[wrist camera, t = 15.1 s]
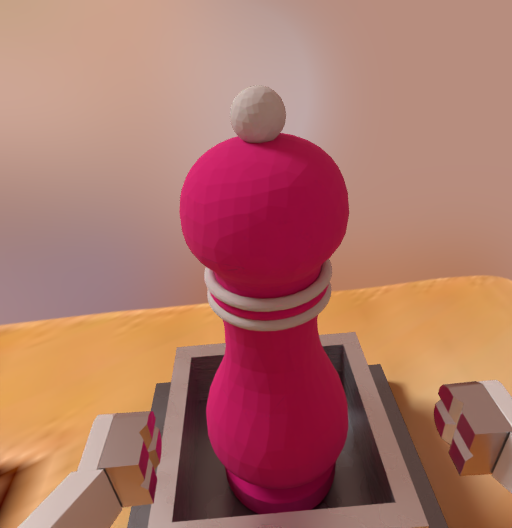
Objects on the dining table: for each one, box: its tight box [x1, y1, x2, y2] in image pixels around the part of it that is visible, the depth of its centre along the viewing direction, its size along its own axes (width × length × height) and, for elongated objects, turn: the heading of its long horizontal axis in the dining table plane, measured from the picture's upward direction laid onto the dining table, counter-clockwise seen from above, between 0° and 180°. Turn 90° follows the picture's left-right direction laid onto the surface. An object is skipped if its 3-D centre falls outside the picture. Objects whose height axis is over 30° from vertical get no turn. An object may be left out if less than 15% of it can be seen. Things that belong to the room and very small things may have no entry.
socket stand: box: [127, 332, 448, 528], centre depth 22 cm, size 16×13×6 cm
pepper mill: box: [180, 85, 349, 514], centre depth 18 cm, size 7×7×20 cm
